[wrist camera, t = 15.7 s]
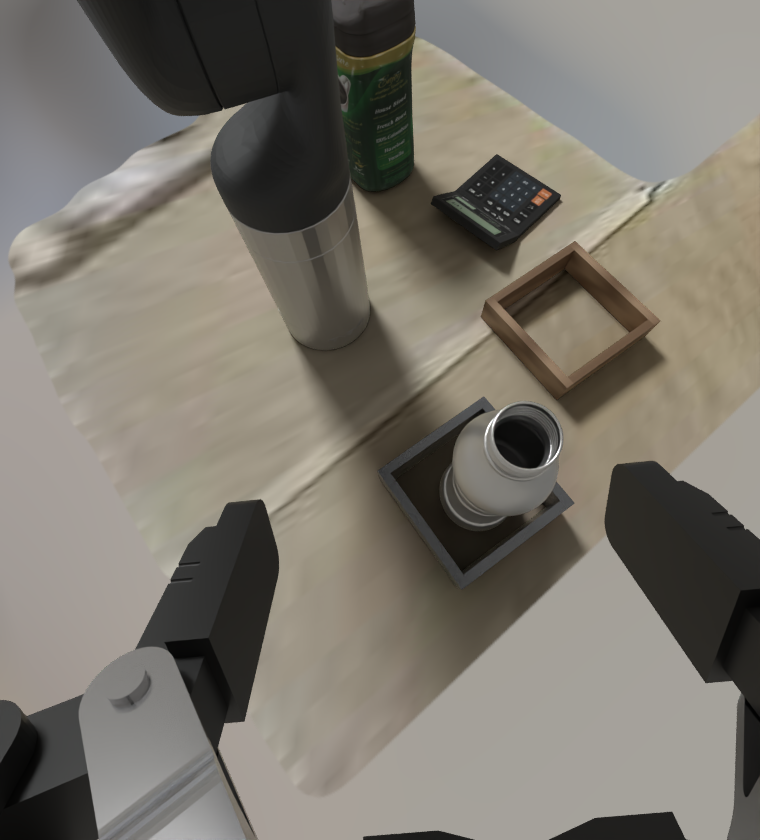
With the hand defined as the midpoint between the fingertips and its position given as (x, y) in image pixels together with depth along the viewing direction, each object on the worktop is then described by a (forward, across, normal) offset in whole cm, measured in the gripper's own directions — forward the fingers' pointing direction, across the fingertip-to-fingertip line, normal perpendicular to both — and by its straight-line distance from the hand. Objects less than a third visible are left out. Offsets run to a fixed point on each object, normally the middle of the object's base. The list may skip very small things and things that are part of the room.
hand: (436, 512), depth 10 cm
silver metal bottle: (+25, -6, +19) cm, 32 cm away
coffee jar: (+54, 0, -9) cm, 55 cm away
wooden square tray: (+36, -18, +8) cm, 41 cm away
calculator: (+48, -14, -3) cm, 50 cm away
